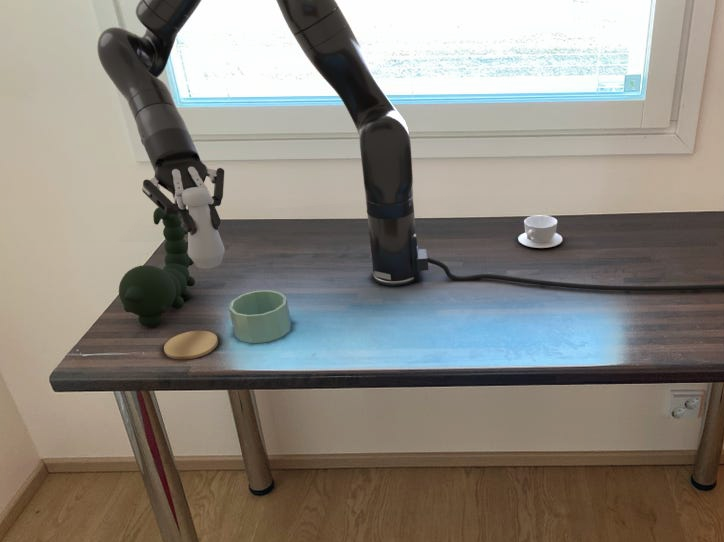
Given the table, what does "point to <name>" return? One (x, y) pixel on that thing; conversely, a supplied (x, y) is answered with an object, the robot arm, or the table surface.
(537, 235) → the teacup
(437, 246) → the table surface
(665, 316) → the table surface
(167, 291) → the toy figurine
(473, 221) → the table surface
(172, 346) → the coaster
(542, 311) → the table surface
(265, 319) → the cup
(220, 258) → the salt shaker
